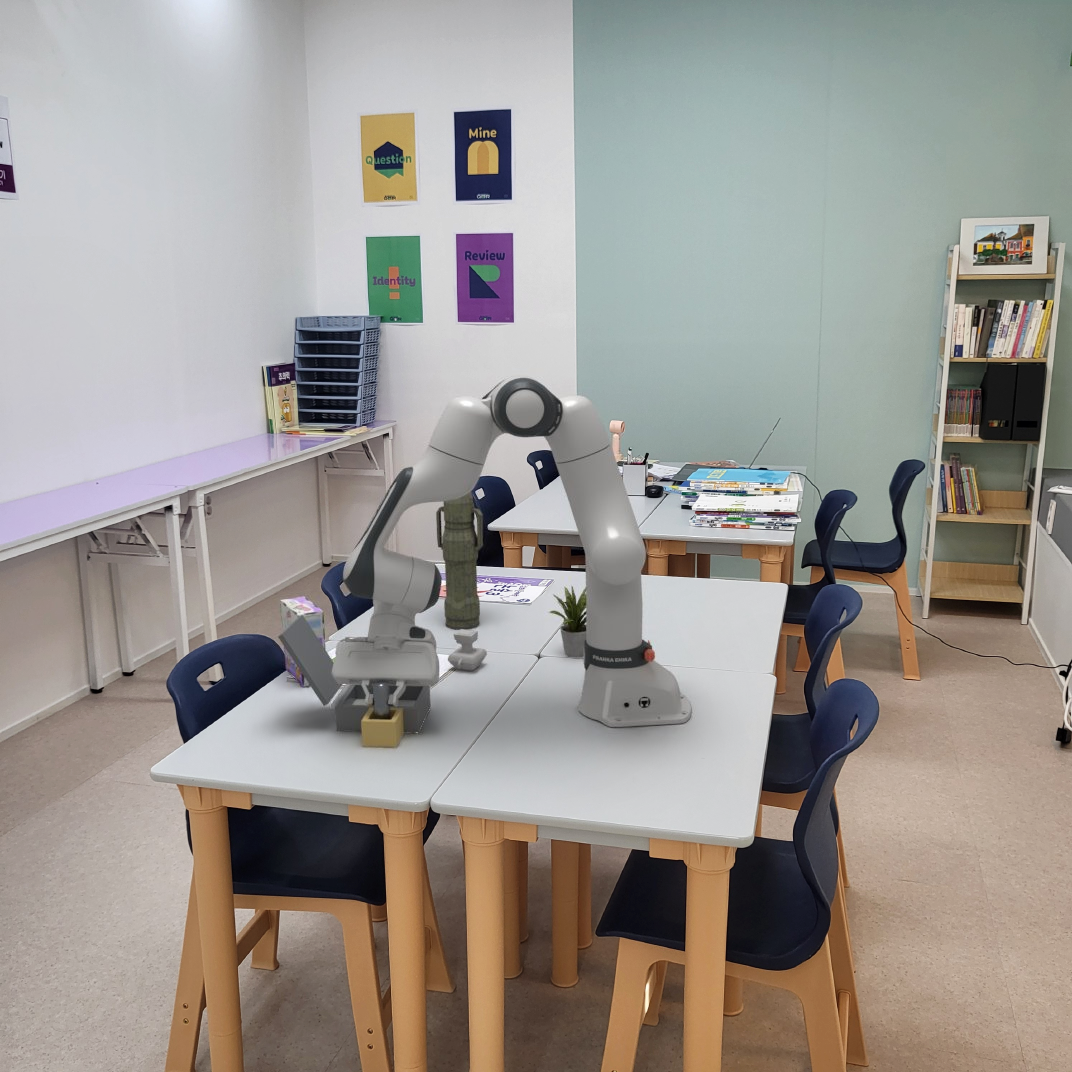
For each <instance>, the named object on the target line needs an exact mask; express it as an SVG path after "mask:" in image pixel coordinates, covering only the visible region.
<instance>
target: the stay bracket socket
mask: <svg viewBox="0 0 1072 1072" xmlns="http://www.w3.org/2000/svg"><path fill="white" fill-rule="evenodd" d="M390 716H391V720H379V719H374V708H373V707H370V708H369V710H368V711H367V713H366V714H365V716H364V717H363V719H362V721H361V729H362V731H361V741H362V742H361V743H362V744H361V745H362V747H369V748H371V747H375V748H376V747H379V748H397V747H398V746H399V743H400V741H401V739H402V737H403V736H402V735H404V734H405V733H404V722H403V708H390ZM403 733H404V734H403Z"/></svg>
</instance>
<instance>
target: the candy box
mask: <svg viewBox="0 0 1072 1072" xmlns="http://www.w3.org/2000/svg"><path fill="white" fill-rule="evenodd" d="M279 603H280V605H279V606H280V615H281V626H282V633H283V632H284V631H285V630H286V629H287V628H288V627H289V626H290V625H291V624H292V623H293V622H294V621H295V620H296V619H297V618H298V617H299V616H301V615H303V616H304V618H305V619H306V621H307V622H308V624H309V625H310V627H311V629H312V630H313V632H314V633H315V635H316V636H317V638H318V639H319V641H320V642H321V644H322V645H323V647H324V648H325V650H326V634H325V633H326V632H325V631H326V630H325V619H324V618H325V616H324V610H322V609H321V608H320V607H318V606H317V605H315V604H314V603H313V602H312V601H311V600H309V599H308V598H307V597H305V596H296V597H291V598H285V599H280V600H279ZM283 652H284V662H285V663H284V664H285V670H287V672H288V673H289V674H290V673H291V674H292V675H293V676H294V677H295V678H296V679H297V680H296V679H295V678H294V677H293V676H292V675H291V674H290V675H291V676H292V677H293V678H294V679H295V680H296V681H297V682H298V683H299V684H300V685H301V686H302V687H303V688H305V687H311V686H310V684H309V683H308V681H307V680H306V678H305V677H304V675H303V674H302V672H301V671H300V669H299V668H298V666H297V665H296V663H295V662H294V660H293V659H292V657H291V656H290V654H289V653H288V651H287V650H286V648H285V647H284V646H283Z"/></svg>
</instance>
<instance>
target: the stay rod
mask: <svg viewBox="0 0 1072 1072" xmlns="http://www.w3.org/2000/svg"><path fill="white" fill-rule="evenodd" d="M388 697H389V682H388V681H386V680H378V681H375V682H373V702H374V719H379V720H391V716H390V706H389V705H388V700H389V698H388Z"/></svg>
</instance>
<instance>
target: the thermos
mask: <svg viewBox="0 0 1072 1072" xmlns="http://www.w3.org/2000/svg"><path fill="white" fill-rule="evenodd" d="M442 502H443V506H440V507H438V509H437V511H436V513H435V514H436V517H435V518H436V519H435V520H436V541H437V548H441V551H442V559H443V560H444V568H445V569H444V572H445V598H444V617H445V627H447V629H450V630H456V631H459V630H460V629H464V630H473V629H475V628H478V627H479V626H480V614H481V608H480V607H481V606H480V605H481V604H480V597H479V595H478V582H477V581H478V580H477V579H478V576H477V575H478V574H477V573H478V570H477V562H478V561H477V560H478V558H479V551H480V550H481V549H482V548H483V546H484V541H483V539H484V538H483V537H484V535H483V532H484V531H483V529H484V528H483V527H484V526H483V525H484V522H483V521H484V520H483V519H484V518H483V517H484V514H483V513H482V511H481V510H480V508H476V507H475V499H474V496H473V494H472V490H471V491H470V492H469V493H468V494H466V495H464V496H463V497H460V498H458V499H455V500H450V501H442ZM442 513H443V521H444V527H443V528H444V529H443V530H444V531H443V532H442ZM475 515H476V518H475ZM475 519H476V525H475ZM476 531H477V532H476ZM442 533H443V534H442Z"/></svg>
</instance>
